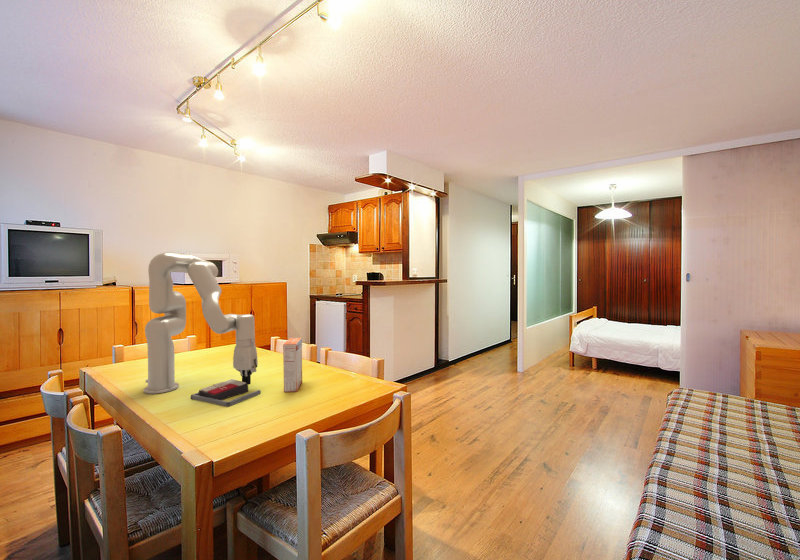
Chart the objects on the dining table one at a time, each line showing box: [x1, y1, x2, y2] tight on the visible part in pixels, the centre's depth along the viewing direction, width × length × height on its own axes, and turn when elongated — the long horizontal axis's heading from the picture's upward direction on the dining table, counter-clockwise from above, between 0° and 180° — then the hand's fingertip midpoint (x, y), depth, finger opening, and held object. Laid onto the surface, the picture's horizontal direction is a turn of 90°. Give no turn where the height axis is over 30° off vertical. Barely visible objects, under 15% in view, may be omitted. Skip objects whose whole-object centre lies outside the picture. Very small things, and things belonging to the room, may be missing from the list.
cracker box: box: [282, 337, 303, 393], centre depth 154 cm, size 14×6×21 cm, turn 6°
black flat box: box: [198, 378, 249, 401], centre depth 144 cm, size 11×4×15 cm
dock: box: [190, 389, 262, 408], centre depth 142 cm, size 21×16×2 cm
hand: (246, 384), depth 151 cm, fingers closed
